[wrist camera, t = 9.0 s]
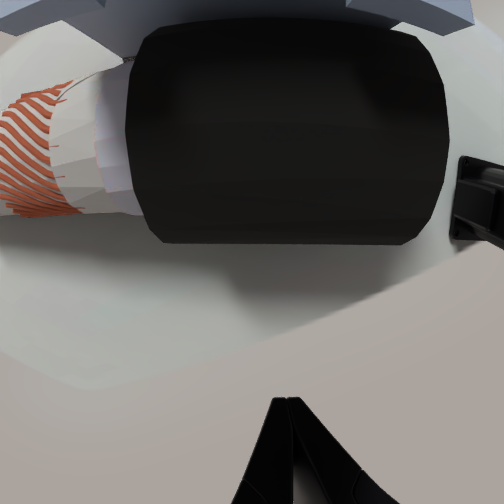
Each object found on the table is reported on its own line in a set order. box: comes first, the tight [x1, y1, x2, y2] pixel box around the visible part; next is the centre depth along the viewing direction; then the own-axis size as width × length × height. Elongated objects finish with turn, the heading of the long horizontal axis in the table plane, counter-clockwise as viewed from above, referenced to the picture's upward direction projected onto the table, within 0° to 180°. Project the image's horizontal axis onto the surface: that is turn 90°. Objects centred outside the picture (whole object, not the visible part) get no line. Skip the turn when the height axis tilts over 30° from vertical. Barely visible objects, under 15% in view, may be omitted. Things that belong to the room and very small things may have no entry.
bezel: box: [0, 0, 475, 58], centre depth 9 cm, size 14×4×14 cm, turn 89°
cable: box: [0, 17, 450, 245], centre depth 14 cm, size 10×34×10 cm, turn 88°
